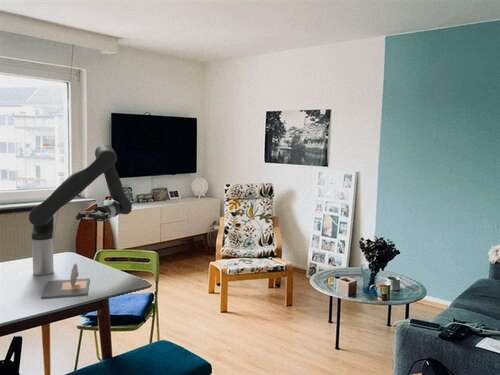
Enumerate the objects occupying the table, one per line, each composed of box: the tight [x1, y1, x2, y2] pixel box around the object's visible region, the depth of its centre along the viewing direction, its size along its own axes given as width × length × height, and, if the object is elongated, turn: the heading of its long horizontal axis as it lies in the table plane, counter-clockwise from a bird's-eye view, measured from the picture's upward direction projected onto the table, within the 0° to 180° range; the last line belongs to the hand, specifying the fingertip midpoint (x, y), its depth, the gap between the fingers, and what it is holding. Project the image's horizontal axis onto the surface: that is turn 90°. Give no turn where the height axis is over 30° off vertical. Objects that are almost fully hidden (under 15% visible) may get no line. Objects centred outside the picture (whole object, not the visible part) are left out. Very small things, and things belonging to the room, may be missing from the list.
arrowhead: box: [69, 263, 80, 286], centre depth 201 cm, size 8×3×10 cm, turn 177°
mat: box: [40, 277, 90, 300], centre depth 200 cm, size 21×18×1 cm
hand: (85, 218), depth 206 cm, fingers open, 8 cm apart
